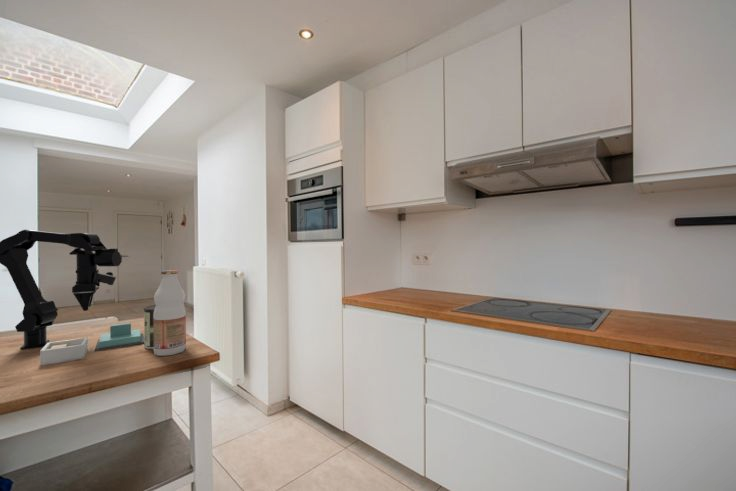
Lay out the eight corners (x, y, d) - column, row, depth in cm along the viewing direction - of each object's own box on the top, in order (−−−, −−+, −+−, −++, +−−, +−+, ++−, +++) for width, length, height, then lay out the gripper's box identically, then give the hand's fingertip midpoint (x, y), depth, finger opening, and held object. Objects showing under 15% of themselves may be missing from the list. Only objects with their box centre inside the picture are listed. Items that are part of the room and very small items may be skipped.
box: (47, 356, 104) (47, 342, 104) (87, 350, 110) (87, 337, 110) (40, 365, 96) (40, 351, 96) (84, 358, 102) (84, 344, 102)
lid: (101, 339, 120) (101, 323, 120) (140, 334, 127) (139, 319, 127) (99, 348, 110) (98, 330, 110) (140, 341, 117) (140, 325, 117)
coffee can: (183, 341, 120) (183, 304, 120) (161, 350, 110) (160, 310, 110) (161, 339, 122) (160, 303, 122) (136, 348, 112) (136, 308, 112)
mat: (98, 341, 120) (98, 339, 120) (143, 334, 128) (143, 333, 128) (94, 351, 109) (94, 349, 109) (144, 343, 117) (144, 341, 117)
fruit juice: (147, 356, 104) (146, 271, 103) (164, 347, 113) (163, 269, 113) (176, 356, 104) (176, 271, 104) (191, 346, 113) (190, 269, 113)
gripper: (113, 267, 115) (113, 310, 115) (115, 264, 129) (116, 302, 130) (71, 268, 108) (72, 314, 108) (79, 265, 123) (79, 305, 123)
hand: (87, 308), depth 117 cm, fingers open, 9 cm apart
